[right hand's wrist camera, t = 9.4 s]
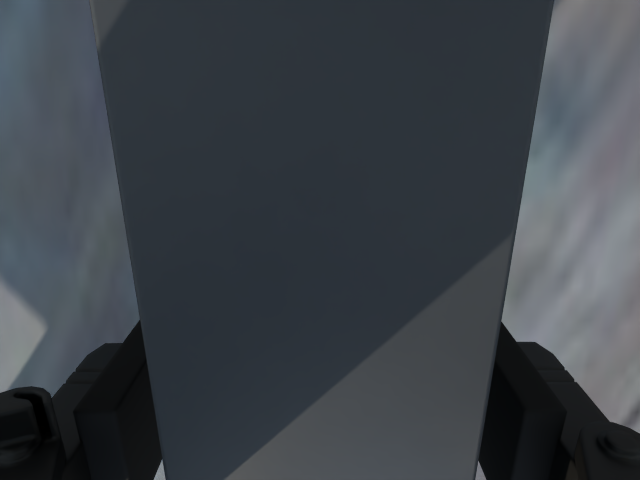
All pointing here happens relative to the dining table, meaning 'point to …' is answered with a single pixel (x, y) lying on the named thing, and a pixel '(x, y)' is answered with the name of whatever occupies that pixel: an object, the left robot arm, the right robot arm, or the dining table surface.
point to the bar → (321, 223)
